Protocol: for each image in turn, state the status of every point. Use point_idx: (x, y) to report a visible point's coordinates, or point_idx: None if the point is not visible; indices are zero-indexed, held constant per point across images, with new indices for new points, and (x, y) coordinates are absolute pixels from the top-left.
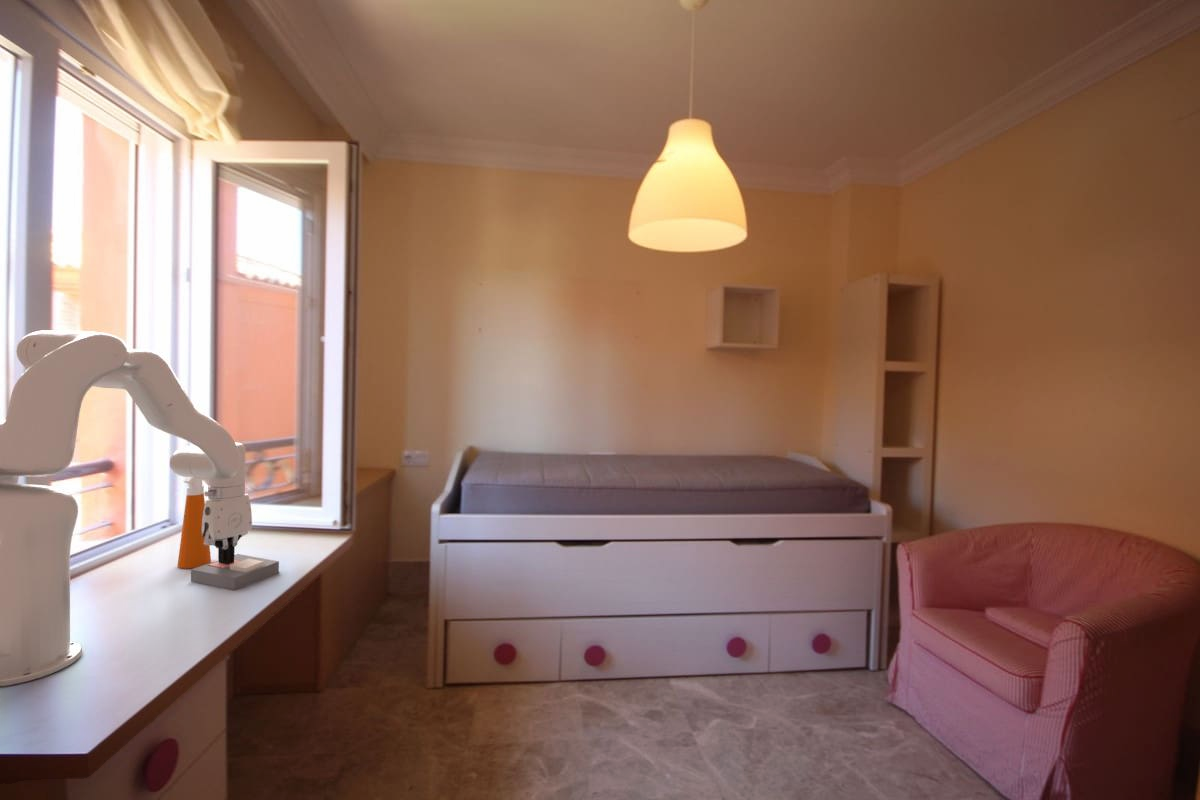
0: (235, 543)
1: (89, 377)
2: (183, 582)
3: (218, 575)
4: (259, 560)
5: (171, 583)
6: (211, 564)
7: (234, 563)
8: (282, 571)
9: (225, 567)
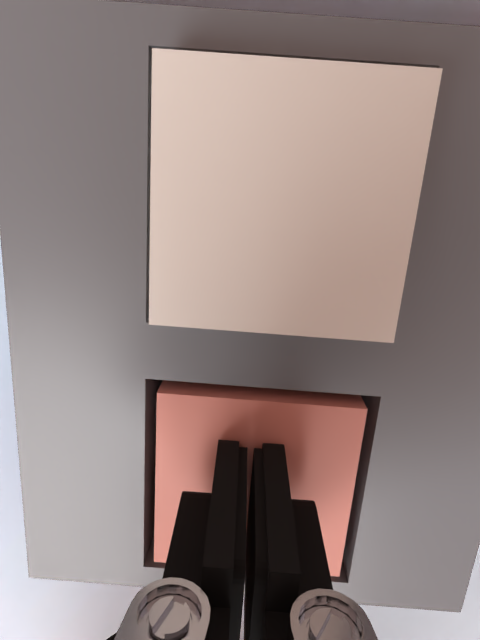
0: (155, 622)
1: None
2: None
3: None
4: (65, 252)
5: (474, 603)
6: None
7: (336, 335)
8: None
9: (344, 405)
